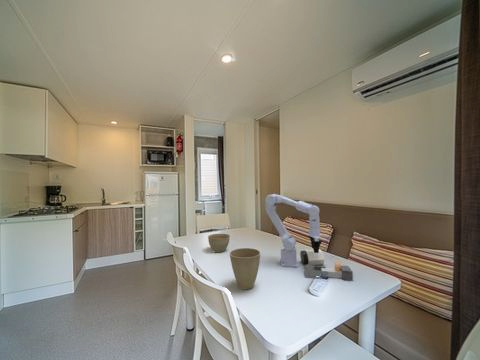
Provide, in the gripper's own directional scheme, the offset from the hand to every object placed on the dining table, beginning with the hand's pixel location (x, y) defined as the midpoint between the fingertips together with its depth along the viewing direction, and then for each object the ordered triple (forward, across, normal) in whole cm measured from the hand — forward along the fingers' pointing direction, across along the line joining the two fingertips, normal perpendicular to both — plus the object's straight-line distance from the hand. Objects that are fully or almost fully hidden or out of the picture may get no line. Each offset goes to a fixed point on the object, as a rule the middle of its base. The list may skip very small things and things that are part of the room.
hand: (315, 250), depth 119 cm
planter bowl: (+10, +22, +65) cm, 69 cm away
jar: (+6, +8, -5) cm, 11 cm away
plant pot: (+10, -27, +36) cm, 46 cm away
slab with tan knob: (+10, -10, -8) cm, 16 cm away
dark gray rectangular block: (+10, -10, -14) cm, 20 cm away
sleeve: (+10, -10, +1) cm, 14 cm away
